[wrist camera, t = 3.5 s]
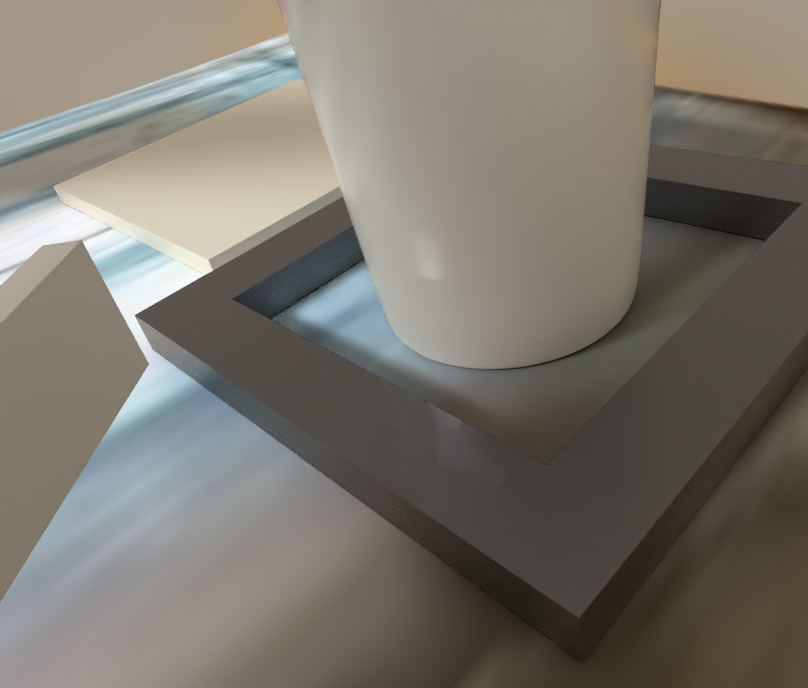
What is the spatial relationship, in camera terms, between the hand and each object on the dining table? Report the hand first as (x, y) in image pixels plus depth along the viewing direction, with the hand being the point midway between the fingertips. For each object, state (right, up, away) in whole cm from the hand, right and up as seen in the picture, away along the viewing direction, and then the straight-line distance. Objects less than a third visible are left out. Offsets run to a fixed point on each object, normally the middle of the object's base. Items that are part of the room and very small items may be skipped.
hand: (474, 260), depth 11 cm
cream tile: (-9, +9, +27) cm, 29 cm away
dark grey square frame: (+2, 0, +12) cm, 12 cm away
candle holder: (+2, 0, +12) cm, 12 cm away
